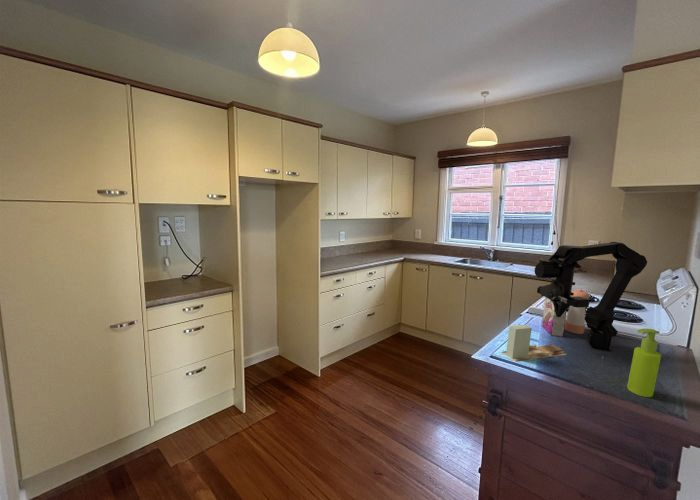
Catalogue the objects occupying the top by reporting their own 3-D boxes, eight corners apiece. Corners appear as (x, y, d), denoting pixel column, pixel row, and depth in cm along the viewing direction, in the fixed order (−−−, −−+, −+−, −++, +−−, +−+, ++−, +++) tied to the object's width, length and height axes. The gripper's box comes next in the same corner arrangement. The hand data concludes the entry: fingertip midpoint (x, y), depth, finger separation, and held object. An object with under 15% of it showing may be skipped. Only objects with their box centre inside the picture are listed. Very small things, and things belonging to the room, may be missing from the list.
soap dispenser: (618, 385, 99) (630, 325, 96) (639, 385, 100) (651, 325, 97) (637, 397, 94) (649, 334, 90) (658, 397, 94) (671, 334, 91)
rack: (549, 347, 124) (550, 341, 123) (566, 356, 117) (567, 350, 117) (500, 354, 117) (501, 348, 117) (515, 364, 110) (516, 357, 110)
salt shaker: (588, 333, 139) (595, 291, 136) (574, 334, 137) (581, 292, 134) (573, 326, 146) (579, 286, 143) (560, 327, 144) (566, 287, 141)
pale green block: (521, 352, 117) (525, 324, 115) (527, 356, 114) (531, 327, 113) (505, 354, 115) (509, 326, 113) (512, 358, 112) (515, 329, 111)
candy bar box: (540, 325, 146) (545, 291, 143) (552, 326, 145) (557, 292, 142) (550, 335, 135) (555, 299, 132) (563, 337, 134) (569, 300, 131)
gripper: (527, 272, 129) (523, 309, 131) (567, 285, 111) (560, 327, 113) (551, 272, 131) (546, 308, 134) (593, 285, 113) (586, 326, 116)
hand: (558, 316), depth 124 cm, fingers closed
